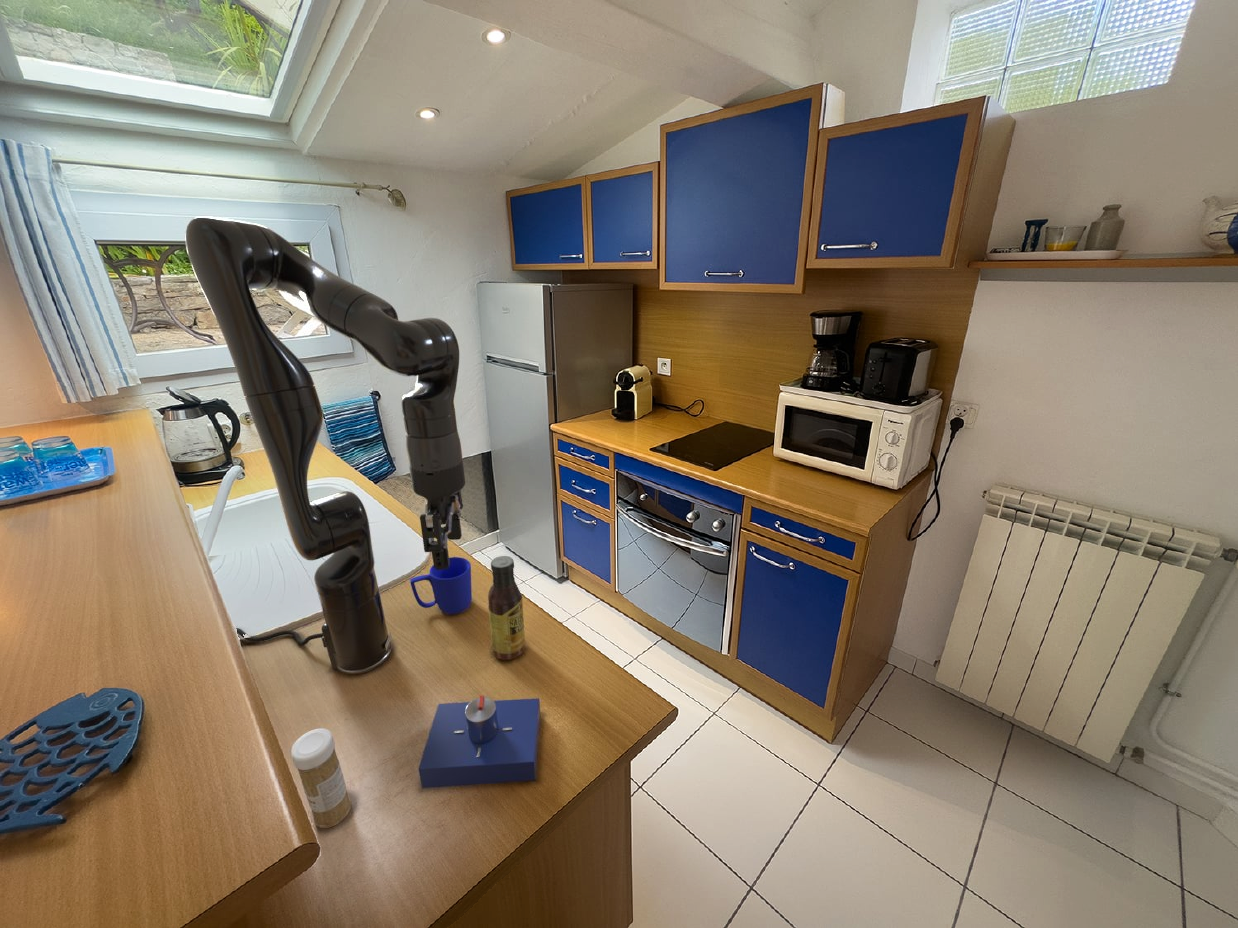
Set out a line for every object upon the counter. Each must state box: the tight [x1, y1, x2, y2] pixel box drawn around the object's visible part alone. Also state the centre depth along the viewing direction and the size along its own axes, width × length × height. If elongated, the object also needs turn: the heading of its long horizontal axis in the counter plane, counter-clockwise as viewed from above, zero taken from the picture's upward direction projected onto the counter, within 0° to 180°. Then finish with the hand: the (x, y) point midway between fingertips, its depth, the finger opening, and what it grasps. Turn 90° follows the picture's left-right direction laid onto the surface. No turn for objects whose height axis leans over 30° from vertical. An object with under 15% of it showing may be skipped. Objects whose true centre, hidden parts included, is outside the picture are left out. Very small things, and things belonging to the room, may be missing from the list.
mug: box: [409, 556, 473, 616], centre depth 104 cm, size 8×12×10 cm
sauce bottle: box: [487, 555, 526, 661], centre depth 91 cm, size 6×6×20 cm
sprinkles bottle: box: [290, 727, 352, 829], centre depth 64 cm, size 5×5×14 cm
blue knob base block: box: [418, 697, 541, 789], centre depth 75 cm, size 16×11×4 cm
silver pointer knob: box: [465, 695, 498, 744], centre depth 73 cm, size 4×4×5 cm
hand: (448, 552), depth 79 cm, fingers open, 8 cm apart
